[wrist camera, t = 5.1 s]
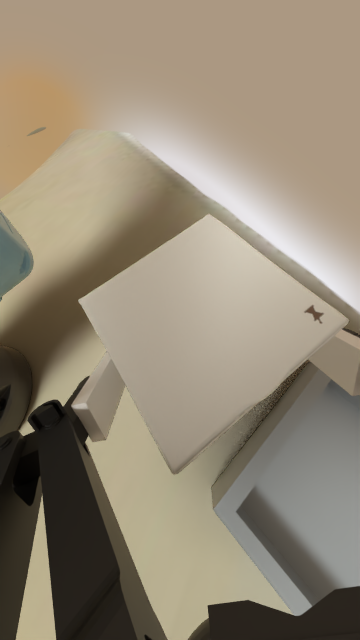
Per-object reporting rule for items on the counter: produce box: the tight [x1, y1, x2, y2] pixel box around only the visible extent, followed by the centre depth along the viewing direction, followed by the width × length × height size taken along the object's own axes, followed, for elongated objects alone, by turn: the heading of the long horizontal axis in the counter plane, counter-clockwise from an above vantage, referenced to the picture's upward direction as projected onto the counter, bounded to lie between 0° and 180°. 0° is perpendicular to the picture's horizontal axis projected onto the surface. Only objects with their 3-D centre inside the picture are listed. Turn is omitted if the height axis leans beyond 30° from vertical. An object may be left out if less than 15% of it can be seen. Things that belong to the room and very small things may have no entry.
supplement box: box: [78, 214, 349, 474], centre depth 15 cm, size 9×9×15 cm
